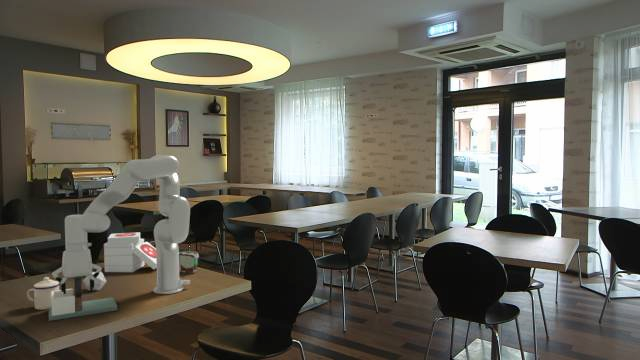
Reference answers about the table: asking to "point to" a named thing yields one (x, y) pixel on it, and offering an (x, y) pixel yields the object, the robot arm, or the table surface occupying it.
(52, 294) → the game board
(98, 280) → the die
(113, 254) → the pizza boxes
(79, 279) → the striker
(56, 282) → the teacup with lid
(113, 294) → the table surface
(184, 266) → the food container
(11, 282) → the table surface
